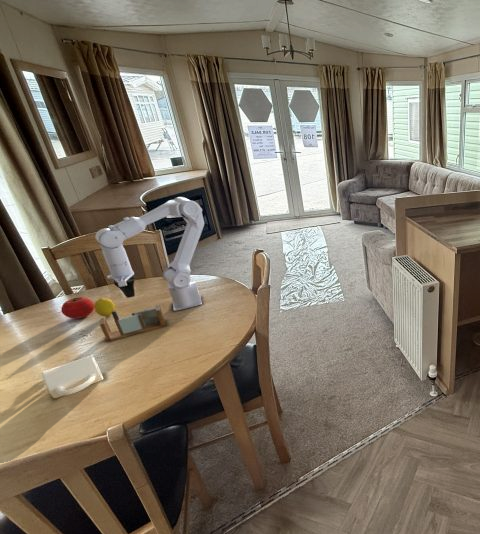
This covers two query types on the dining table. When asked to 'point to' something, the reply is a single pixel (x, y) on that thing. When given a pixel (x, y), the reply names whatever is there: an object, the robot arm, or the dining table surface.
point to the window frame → (151, 321)
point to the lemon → (104, 307)
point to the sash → (129, 323)
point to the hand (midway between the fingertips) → (130, 296)
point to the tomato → (77, 307)
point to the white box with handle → (72, 376)
